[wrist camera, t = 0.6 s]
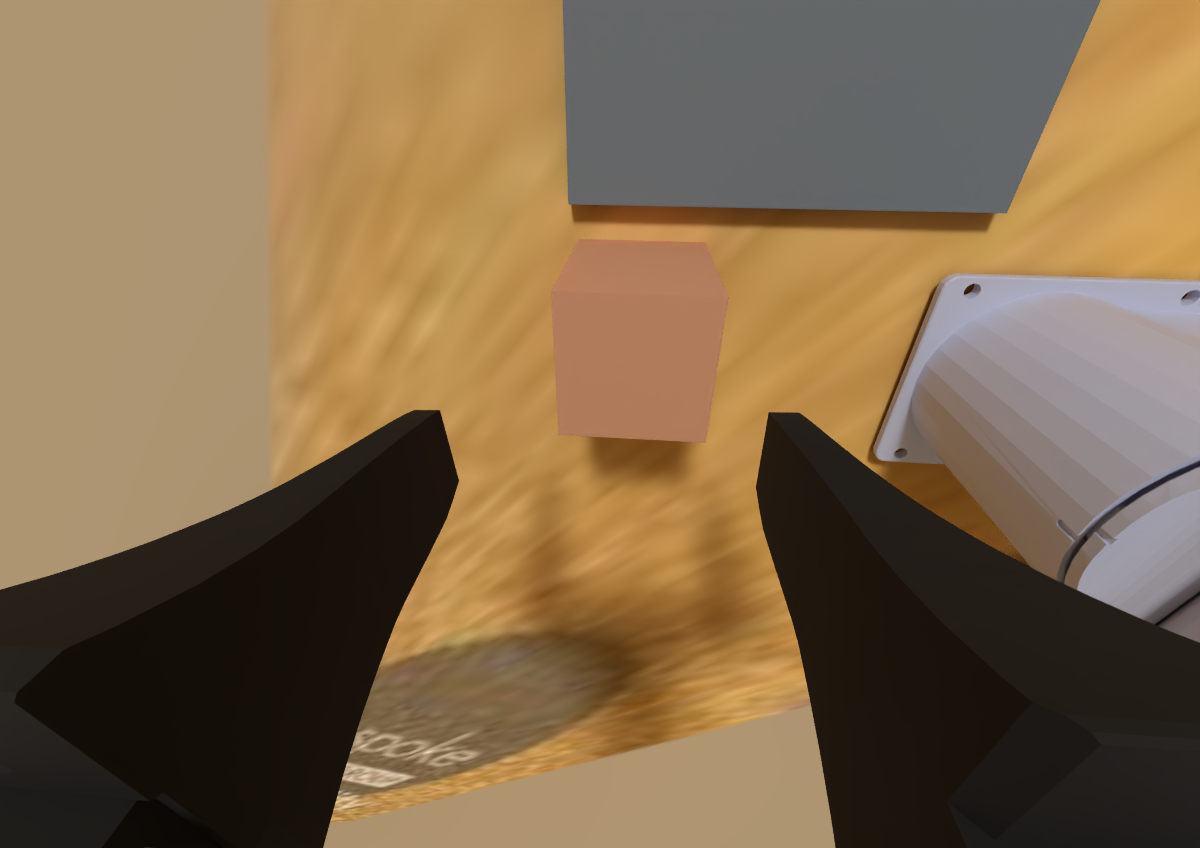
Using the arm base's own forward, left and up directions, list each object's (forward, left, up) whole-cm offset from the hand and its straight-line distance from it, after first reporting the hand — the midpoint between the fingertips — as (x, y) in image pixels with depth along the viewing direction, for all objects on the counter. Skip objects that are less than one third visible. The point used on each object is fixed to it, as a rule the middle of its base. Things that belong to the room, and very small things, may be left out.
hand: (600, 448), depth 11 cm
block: (-1, 0, -9) cm, 9 cm away
